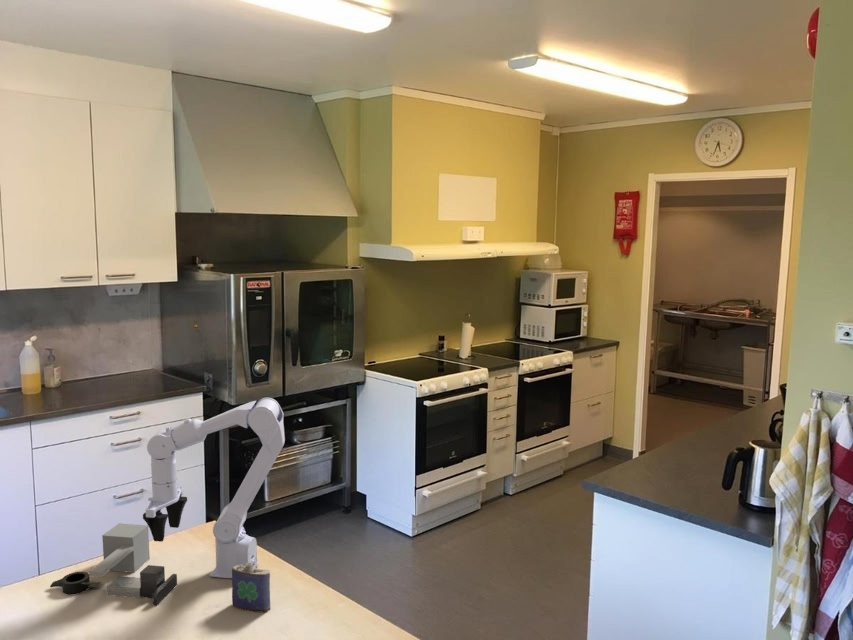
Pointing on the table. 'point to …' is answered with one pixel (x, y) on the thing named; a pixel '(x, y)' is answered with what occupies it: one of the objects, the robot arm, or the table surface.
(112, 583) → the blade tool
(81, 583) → the black ring with tabs
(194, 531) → the table surface
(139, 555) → the grey cube mallet
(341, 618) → the table surface
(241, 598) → the flask
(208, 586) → the table surface
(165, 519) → the robot arm
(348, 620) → the table surface
